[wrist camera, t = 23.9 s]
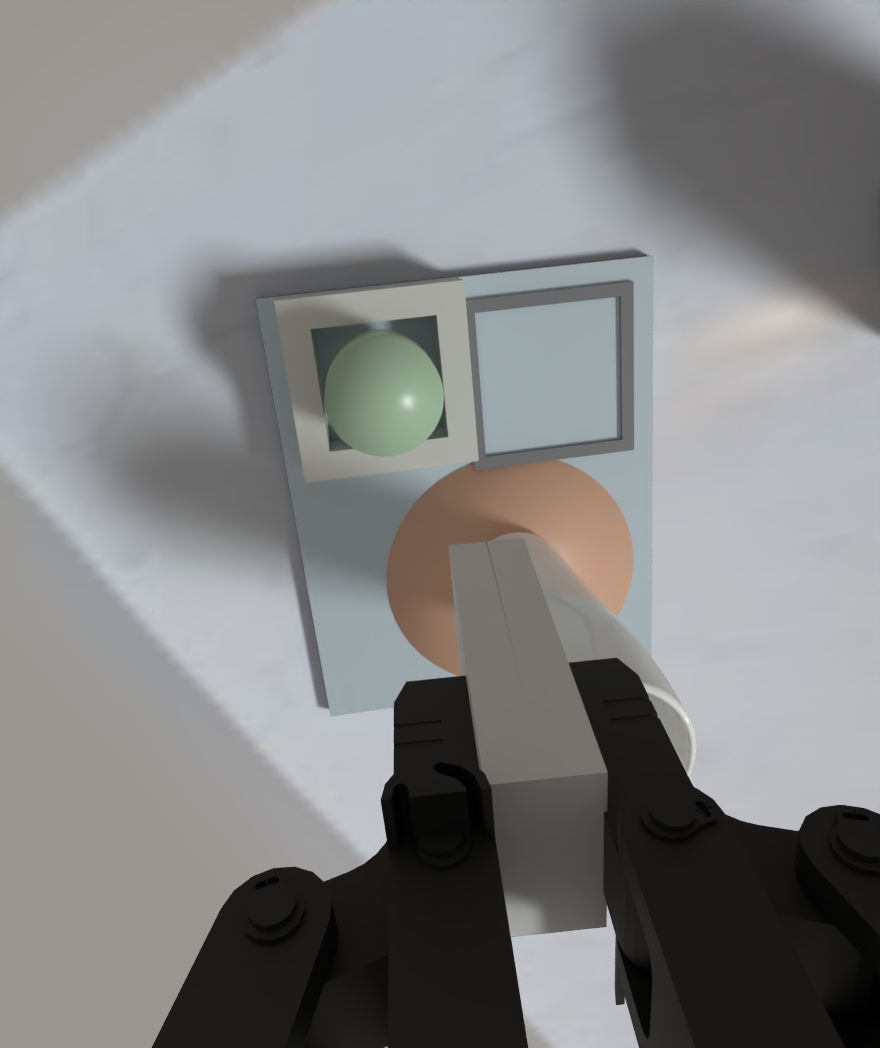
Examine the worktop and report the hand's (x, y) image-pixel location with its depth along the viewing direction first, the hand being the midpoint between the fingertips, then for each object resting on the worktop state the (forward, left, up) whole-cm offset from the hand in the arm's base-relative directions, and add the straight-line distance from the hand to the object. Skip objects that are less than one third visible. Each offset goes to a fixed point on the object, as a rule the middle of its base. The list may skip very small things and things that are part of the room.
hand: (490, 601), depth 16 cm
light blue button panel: (-3, +6, -22) cm, 23 cm away
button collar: (+1, -1, -22) cm, 22 cm away
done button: (+1, -1, -20) cm, 20 cm away
